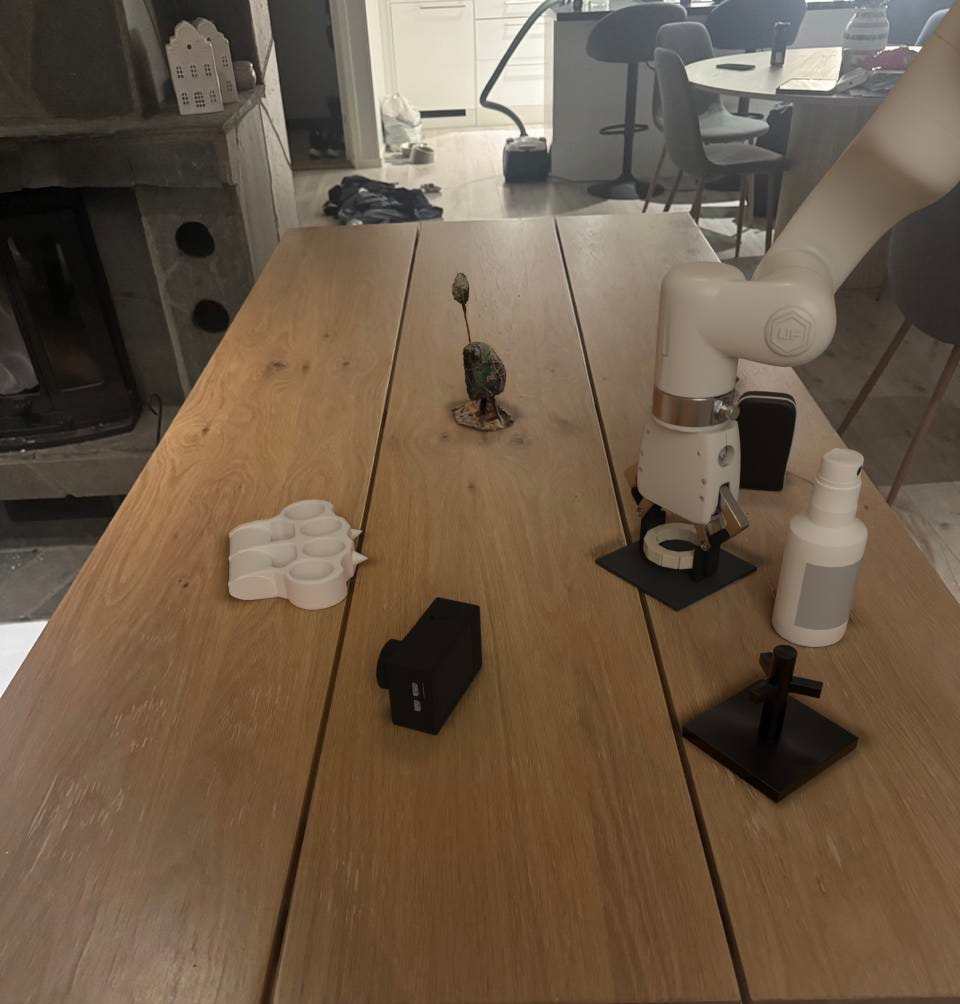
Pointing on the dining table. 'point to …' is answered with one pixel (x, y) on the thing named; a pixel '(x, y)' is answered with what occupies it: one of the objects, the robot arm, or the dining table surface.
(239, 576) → the white brass knuckles
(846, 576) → the spray bottle
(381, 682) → the digital camera
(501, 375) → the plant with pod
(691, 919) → the dining table surface
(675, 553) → the ring
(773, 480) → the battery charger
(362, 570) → the dining table surface
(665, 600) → the mat
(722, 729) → the rack
